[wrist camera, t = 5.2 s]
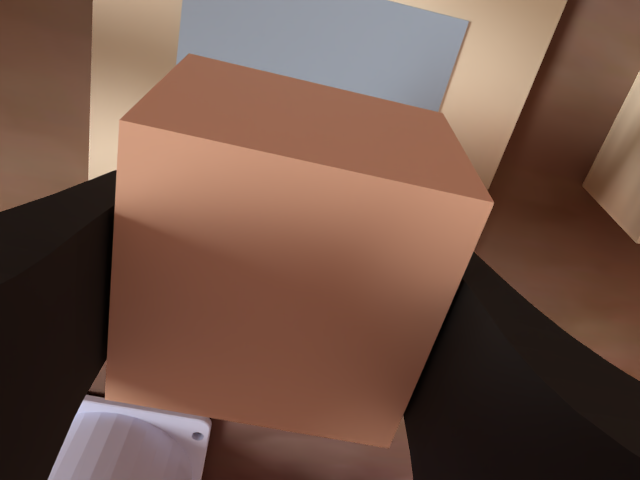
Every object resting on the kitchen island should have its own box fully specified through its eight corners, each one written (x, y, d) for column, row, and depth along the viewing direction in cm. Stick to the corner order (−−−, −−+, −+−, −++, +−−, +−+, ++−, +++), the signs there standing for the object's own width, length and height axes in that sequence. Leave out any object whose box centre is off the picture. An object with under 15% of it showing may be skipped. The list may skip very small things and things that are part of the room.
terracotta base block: (373, 311, 13) (388, 448, 10) (165, 270, 13) (104, 399, 10) (442, 113, 11) (493, 202, 8) (188, 53, 11) (119, 119, 7)
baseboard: (430, 312, 22) (433, 323, 21) (92, 244, 21) (85, 254, 20) (581, -55, 16) (591, -54, 15) (106, -185, 14) (95, -189, 14)
